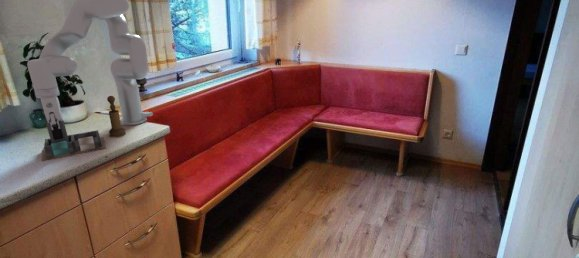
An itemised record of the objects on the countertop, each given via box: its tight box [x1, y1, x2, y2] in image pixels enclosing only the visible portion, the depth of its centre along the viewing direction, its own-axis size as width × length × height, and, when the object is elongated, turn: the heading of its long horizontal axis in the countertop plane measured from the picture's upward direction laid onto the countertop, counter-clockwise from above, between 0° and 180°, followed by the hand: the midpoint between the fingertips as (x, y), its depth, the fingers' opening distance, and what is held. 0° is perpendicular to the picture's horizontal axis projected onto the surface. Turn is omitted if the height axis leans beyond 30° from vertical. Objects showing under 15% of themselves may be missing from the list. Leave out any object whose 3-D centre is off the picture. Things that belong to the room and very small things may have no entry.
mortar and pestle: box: [106, 95, 127, 138], centre depth 153 cm, size 7×6×18 cm
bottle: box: [45, 115, 69, 143], centre depth 136 cm, size 6×6×15 cm
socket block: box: [41, 130, 107, 162], centre depth 140 cm, size 22×14×6 cm, turn 122°
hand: (58, 135), depth 137 cm, fingers closed on bottle, 5 cm apart
